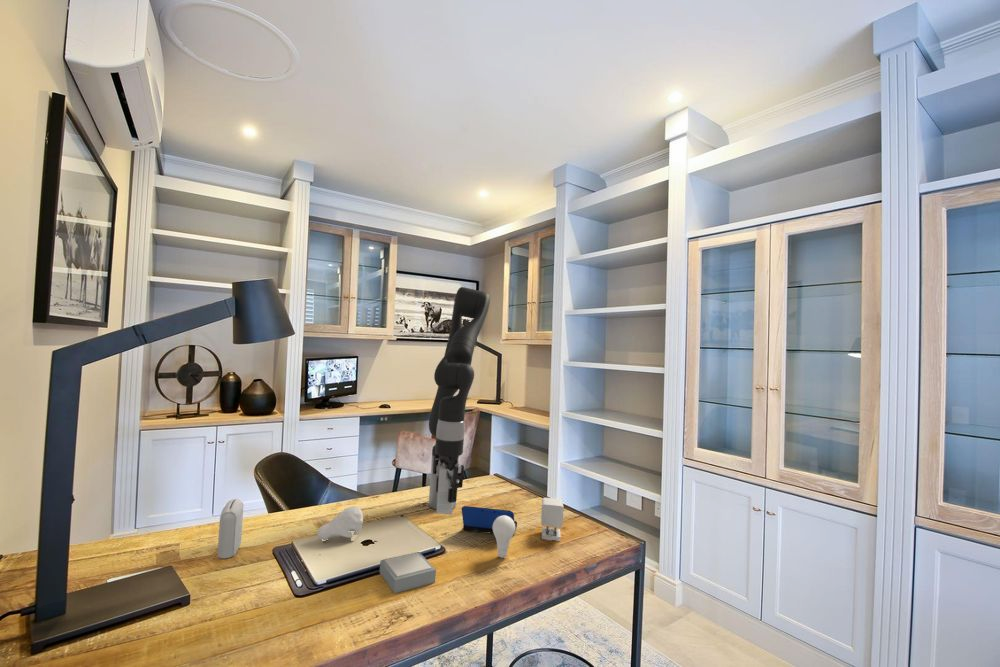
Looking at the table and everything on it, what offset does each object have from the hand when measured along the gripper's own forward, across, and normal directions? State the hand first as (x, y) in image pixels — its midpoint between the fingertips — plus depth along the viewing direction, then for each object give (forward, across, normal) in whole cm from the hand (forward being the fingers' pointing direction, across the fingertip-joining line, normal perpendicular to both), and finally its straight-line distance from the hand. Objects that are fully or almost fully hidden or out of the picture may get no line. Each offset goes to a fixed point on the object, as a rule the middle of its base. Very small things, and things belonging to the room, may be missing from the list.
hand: (445, 496), depth 123 cm
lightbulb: (+15, -11, -13) cm, 22 cm away
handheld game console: (+15, +6, -18) cm, 25 cm away
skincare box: (+4, 0, 0) cm, 4 cm away
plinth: (+14, -9, +13) cm, 22 cm away
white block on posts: (+15, -5, -34) cm, 37 cm away
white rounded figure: (+15, +18, +23) cm, 33 cm away
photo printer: (+15, +23, +49) cm, 56 cm away
